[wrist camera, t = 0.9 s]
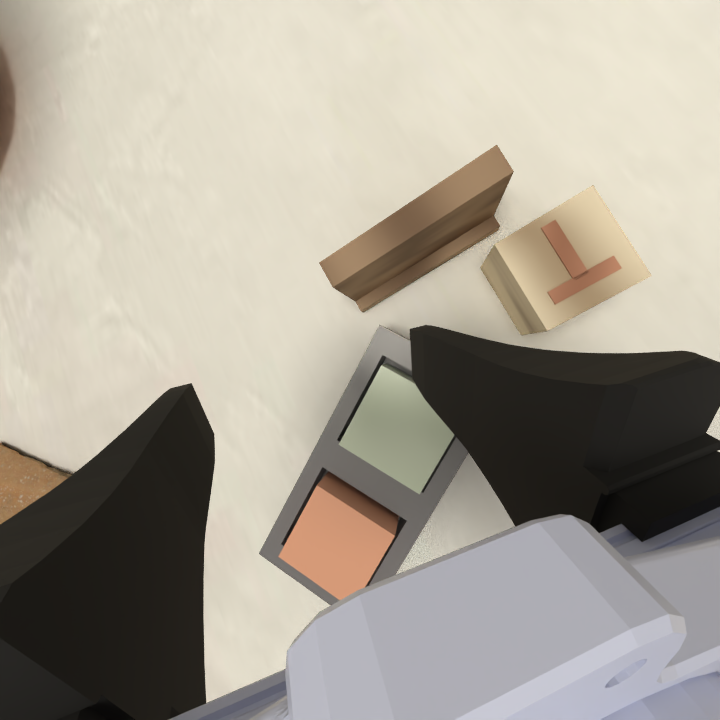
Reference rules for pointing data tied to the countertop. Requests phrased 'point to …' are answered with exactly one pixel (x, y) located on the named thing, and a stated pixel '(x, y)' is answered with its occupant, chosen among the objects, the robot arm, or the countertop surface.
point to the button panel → (365, 471)
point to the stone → (24, 481)
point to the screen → (422, 233)
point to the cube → (563, 264)
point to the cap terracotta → (340, 537)
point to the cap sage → (397, 430)
